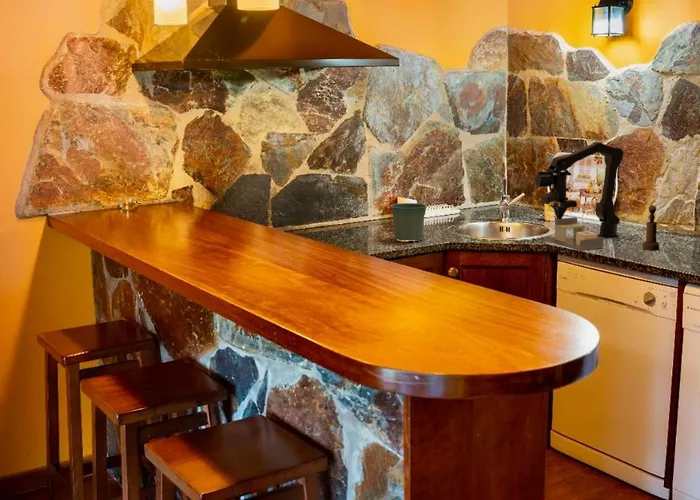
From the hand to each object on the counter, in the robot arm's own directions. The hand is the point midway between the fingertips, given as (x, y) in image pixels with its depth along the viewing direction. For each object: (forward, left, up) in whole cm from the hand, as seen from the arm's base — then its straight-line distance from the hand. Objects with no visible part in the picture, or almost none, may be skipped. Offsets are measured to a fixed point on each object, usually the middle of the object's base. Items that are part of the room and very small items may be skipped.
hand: (558, 221), depth 360 cm
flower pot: (+60, -29, -8) cm, 67 cm away
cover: (0, +8, -7) cm, 11 cm away
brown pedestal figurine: (-21, +34, -8) cm, 42 cm away
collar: (0, +21, -7) cm, 22 cm away
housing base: (0, +14, -8) cm, 17 cm away
